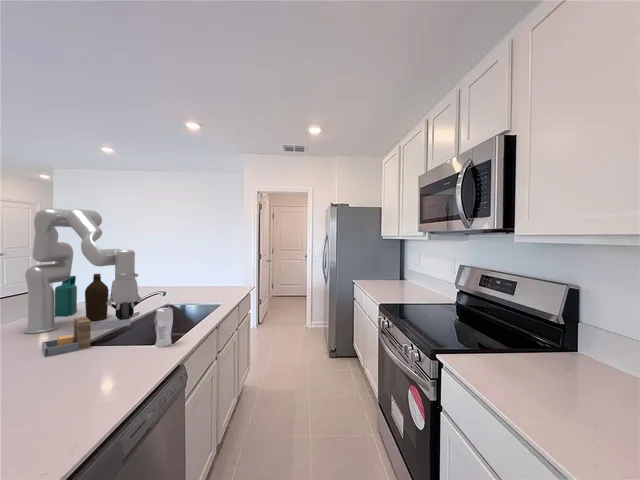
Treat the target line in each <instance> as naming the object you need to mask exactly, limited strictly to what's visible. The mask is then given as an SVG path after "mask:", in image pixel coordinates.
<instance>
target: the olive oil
mask: <svg viewBox="0 0 640 480" xmlns="http://www.w3.org/2000/svg"><path fill="white" fill-rule="evenodd" d="M109 291H110V290H109V287H108V285H106V283H104V282H103V281H102V275H101V273H93V281H92V282H91V283H89V284H88V286H87V287H86V288H85V290H84V300H85V301H84V303H85V316H86V317H87V318H88V319H89V320H90V321H91V322H101V321H105V320H106V319H108V307H109V305H107V304H106V303H107V301H108V300H109ZM100 320H101V321H100Z"/></svg>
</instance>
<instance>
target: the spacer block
mask: <svg viewBox="0 0 640 480" xmlns="http://www.w3.org/2000/svg"><path fill="white" fill-rule="evenodd" d="M73 337H74V335H72V334H65V335H62V336H57V337H56V338H57V339H56V340H57V346H62V345H67V344H72V343H73Z"/></svg>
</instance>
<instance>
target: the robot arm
mask: <svg viewBox="0 0 640 480" xmlns="http://www.w3.org/2000/svg"><path fill="white" fill-rule="evenodd" d="M102 222H103V218H102V216H101V214H100V213H99V212H98V211H96V210H91V209H90V210H89V209H82V208H80V209H79V208H78V209H77V208H76V209H62V208H43V209H41V210H38V211H37V212H36V213H35V216H34V219H33V225H34V232H35V233H34V240H33V247H32V248H33V249H32V258H33V259H34V261H36V262H38V263H43V264H36V265H32V266H30V267H28V268H27V270H26V271H25V274H24V275H25V276H24V277H25V282H26V284H27V285H26V286H27V299H28V300H27V306H28V307H27V327H25V328H24V329H23V331H22V332H23V333H24V334H41V333H45V332H52V331H54V330H57V329H58V328H59V327H60V326H59V324H58V323H55V289H54V288H53V287H52V286H51V284H55V283H62V281H65V280H67V279H68V278H69V277H70V276H71V273H72V267H73V259H74V250H73V247H72V246H71V244H69V243H68V242H64V241H62V242H60V241H59V232H58V230H57V229H56V228H57V227H58V228H59V227H61V228H71V229H72V230H74V232H75V233H76V234H77V235H78V237H79V238H80V239H81V244H80V249H81V252H82V254H83V256H84V257H85V259H86V260H87V261H88V262H89V263H90V264H92V265H93V266H94V267H106V266H107V267H108V266H114V280H112V283H111V288H110V296H109V298H108V301H107V303H106V304H107V305H108V307H111V308H112V309H115V318H117V319H120V318H121V310H120V303H124V302H129V303H130V318H132V317H133V315H134V308H135V307H136V306H137V305H138V304H139V303H140V302H142V301H143V298H142V297H141V296H140V295H139V290H138V289H139V288H138V282H137V279H136V278H137V277H139V273H136V271H135V270H136V269H135V268H136V267H135V266H136V265H135V264H136V263H135V262H136V252H135V251H134V250H133V249H120V248H100V247H98V245H97V244H95V242H96V241H97V240H99V239H100V238H101V237H102V235H103V231H102V228H100V227H101V225H102ZM58 241H59V242H58ZM50 262H53V263H50ZM44 263H45V264H44ZM112 302H113V303H112Z"/></svg>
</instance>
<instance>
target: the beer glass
mask: <svg viewBox="0 0 640 480" xmlns="http://www.w3.org/2000/svg"><path fill="white" fill-rule="evenodd" d="M173 311H174V310H173V308H172V307H161V308H160V307H159V308H157V309H155V313H154V326H155V327H154V328H155V334H156V341H155V347H157V346H165V347H168V346H171V345H172V344H173V343H172V335H171V334H172V329H173V324H174V323H173V322H174V312H173Z"/></svg>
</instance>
